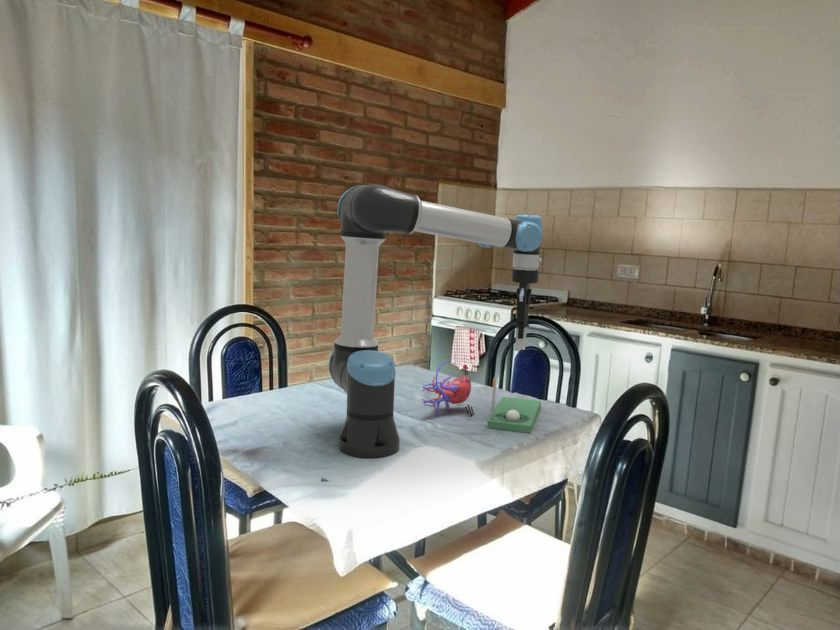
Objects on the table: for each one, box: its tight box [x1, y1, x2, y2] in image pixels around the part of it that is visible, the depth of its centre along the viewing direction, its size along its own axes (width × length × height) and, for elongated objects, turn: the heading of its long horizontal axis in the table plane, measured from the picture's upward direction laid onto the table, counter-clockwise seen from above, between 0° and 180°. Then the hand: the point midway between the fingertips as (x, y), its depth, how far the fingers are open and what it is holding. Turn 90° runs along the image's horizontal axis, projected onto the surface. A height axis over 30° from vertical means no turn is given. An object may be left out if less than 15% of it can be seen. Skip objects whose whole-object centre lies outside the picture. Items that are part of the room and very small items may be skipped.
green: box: [486, 377, 542, 434], centre depth 188 cm, size 27×12×14 cm, turn 164°
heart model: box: [420, 360, 475, 418], centre depth 191 cm, size 17×10×20 cm
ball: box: [506, 410, 520, 420], centre depth 183 cm, size 4×4×4 cm
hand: (520, 348), depth 190 cm, fingers closed
